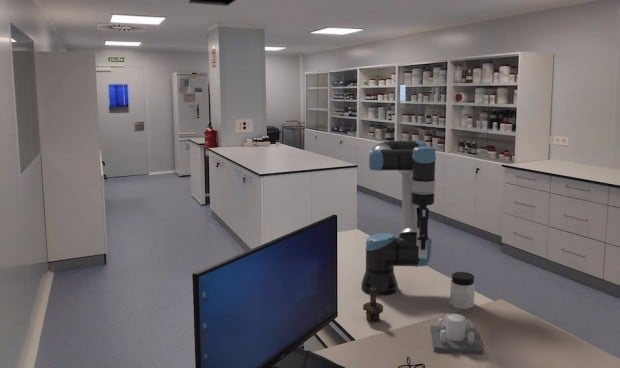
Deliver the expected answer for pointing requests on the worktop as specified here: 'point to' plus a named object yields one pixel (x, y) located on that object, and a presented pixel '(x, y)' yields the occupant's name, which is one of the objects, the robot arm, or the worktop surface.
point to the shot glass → (455, 326)
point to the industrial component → (373, 307)
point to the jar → (462, 290)
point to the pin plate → (445, 345)
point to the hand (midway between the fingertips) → (421, 251)
